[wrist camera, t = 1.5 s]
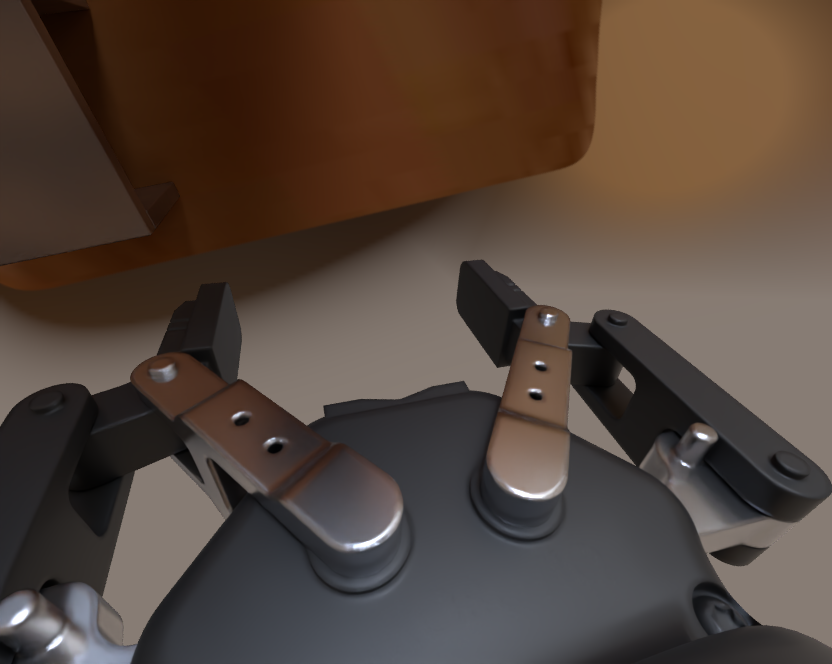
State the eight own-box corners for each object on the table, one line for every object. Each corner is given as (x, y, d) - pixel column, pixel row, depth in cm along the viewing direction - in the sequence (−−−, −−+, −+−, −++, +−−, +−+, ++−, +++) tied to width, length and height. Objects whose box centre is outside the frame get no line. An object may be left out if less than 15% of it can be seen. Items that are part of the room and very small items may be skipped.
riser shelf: (-93, 1, 22) (-269, -29, 15) (78, -17, 23) (-9, -52, 16) (59, 219, 30) (-10, 268, 23) (180, 196, 31) (151, 235, 24)
